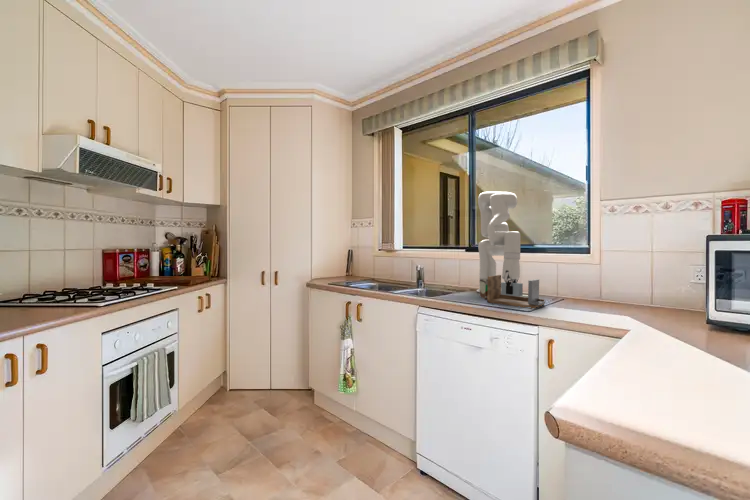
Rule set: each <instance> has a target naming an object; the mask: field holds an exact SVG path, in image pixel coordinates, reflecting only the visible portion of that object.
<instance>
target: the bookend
mask: <svg viewBox="0 0 750 500" xmlns="http://www.w3.org/2000/svg"><path fill="white" fill-rule="evenodd" d="M527 283H528V285H527V286H528V289H527V291H528V293H527V295H528V296H527V297H528V304H531V305H541V304H544V305H545V304H546V301H545V300H544V301H539V299H540V279H538V278H537V279H536V278H535V279H529V280H528V282H527Z"/></svg>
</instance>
